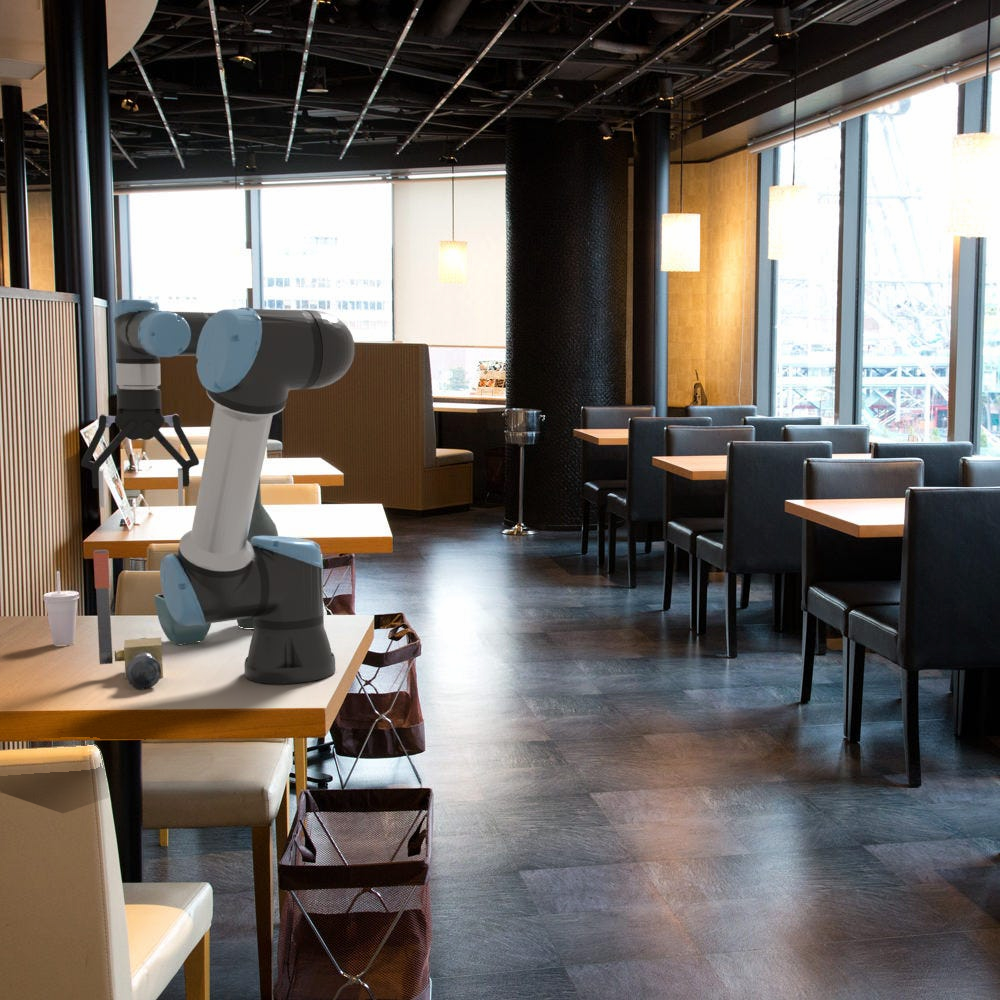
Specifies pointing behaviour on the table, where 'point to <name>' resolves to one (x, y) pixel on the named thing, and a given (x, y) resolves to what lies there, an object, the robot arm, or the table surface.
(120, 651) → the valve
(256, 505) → the bottle
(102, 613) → the lever
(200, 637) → the flower pot
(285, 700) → the table surface
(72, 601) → the smoothie
